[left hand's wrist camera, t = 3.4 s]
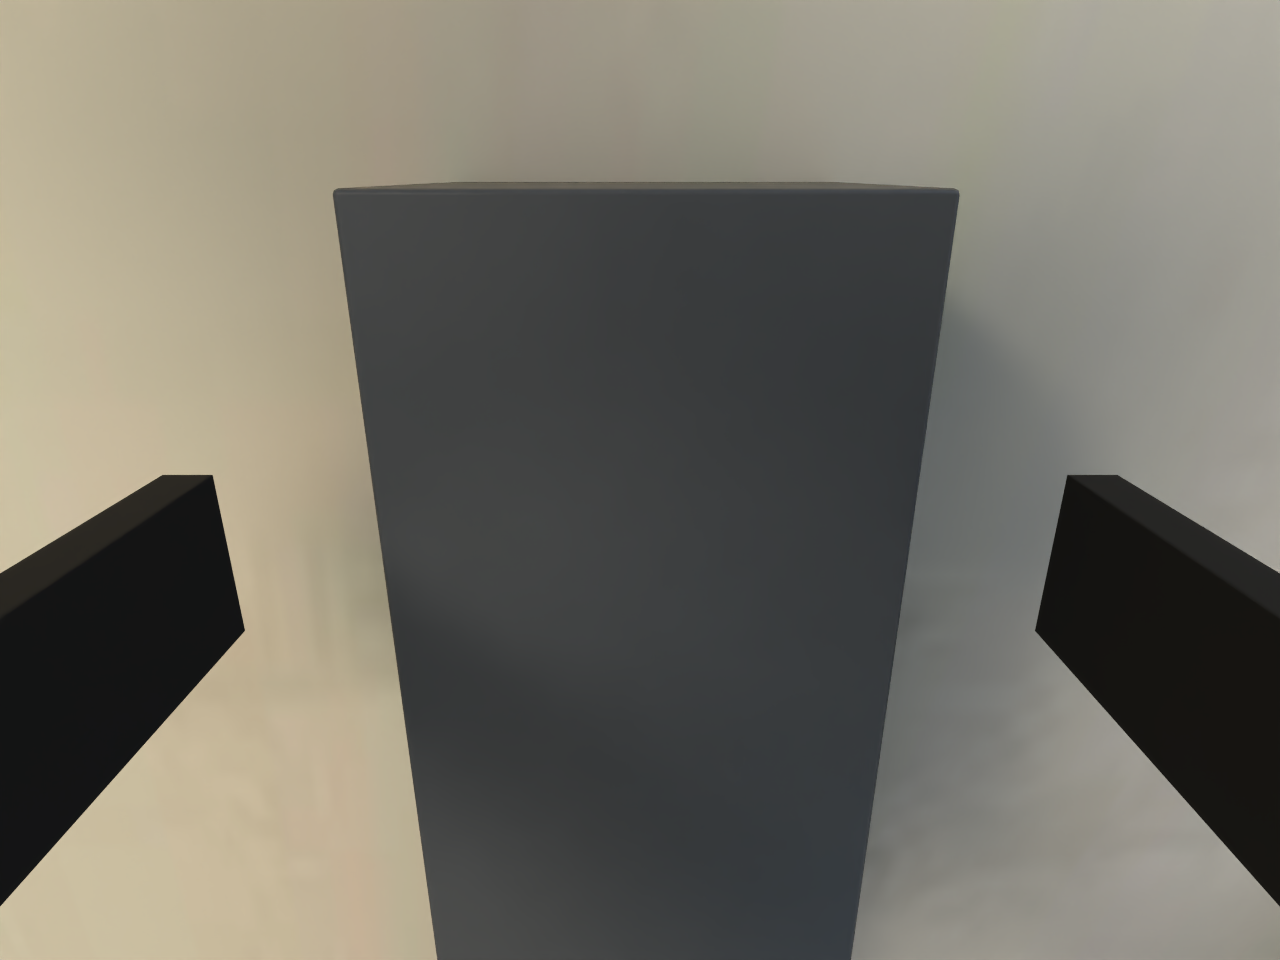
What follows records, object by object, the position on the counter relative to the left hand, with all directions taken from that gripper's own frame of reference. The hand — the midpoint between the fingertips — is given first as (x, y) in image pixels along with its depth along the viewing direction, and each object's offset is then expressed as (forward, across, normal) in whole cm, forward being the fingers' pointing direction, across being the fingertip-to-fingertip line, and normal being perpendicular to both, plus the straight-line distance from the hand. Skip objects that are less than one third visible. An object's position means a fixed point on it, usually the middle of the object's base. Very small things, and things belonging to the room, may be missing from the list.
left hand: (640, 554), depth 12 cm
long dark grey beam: (+9, 0, -21) cm, 23 cm away
